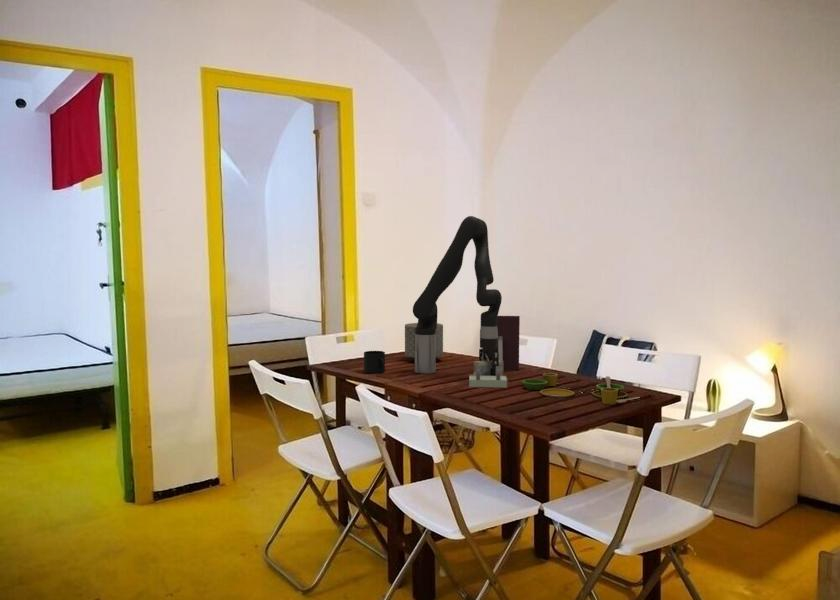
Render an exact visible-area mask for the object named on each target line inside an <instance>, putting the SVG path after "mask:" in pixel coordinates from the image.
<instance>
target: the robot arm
mask: <svg viewBox="0 0 840 600" xmlns="http://www.w3.org/2000/svg"><path fill="white" fill-rule="evenodd" d="M488 233H489V231H488V225H487V223H486V222H485V221H484V220H483V219H482V218H479V217H476V216H473V215H468V216H467V217H465V218H464V219H463V220H462V222H461V223H460V225H459V227H458V229H457V231H456V234H455V236H454V237H453V240H452V241H451V244H450V246H449V247H448V249H447V250H446V252H445V254H444V256H443V257H442V259H441V260H440V262H439V264H438V265H437V266H436V269H435V270H434V273H433V274H432V276H431V278H430V280H429V282H428V283H427V285H426V287H425V288H424V290H423V291H422V293H421V294H420V295H419V296H418V298H417V299H416V301H415V302H414V303H413V306H412V313H413V316H414V317H415V319H417V323H418V324H417V326H416V328H415V361H414V373H416V374H417V373H418V374H432V373H433V374H435V373H436V370H437V369H436V366H437V365H436V360H437V359H436V328H437V323H438V306H437V301H438V300H439V298H440V296H441V295H442V294H443V293H444V292H445V291H446V290H447V289H448V288H449V287H450V285H451V284H452V283H453V282H454V281H455V279H456V278H457V276H458V274H459V272H460V271H461V268H462V266H463V262H464V261H463V260H464V254H465V251H466V248H467V247H468V245H469V243H470V242H471V240H472V242H473V244H474V248H475V258H474V265H473V266H474V271H475V278H476V294H475V295H476V296H475V297H476V303H477V304H478V305H479V306H481V307H488V310H485V311H483V312H482V313H481V314H480V329H479V348H478V361H488V363H489V364H490V376H496V366H499V353H495V348H497V347H498V329H497V316H499V312H500V308H501V305H502V298H503V296H502V293H501V292H500V290H498V289H496V288H495V289H491V288H490V289H488V288H487V287H488V286H490V285H491V284H493V282H494V274H493V270H492V265H491V259H490V251H489V234H488ZM496 362H497V364H496Z"/></svg>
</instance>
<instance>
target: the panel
mask: <svg viewBox="0 0 840 600" xmlns="http://www.w3.org/2000/svg"><path fill="white" fill-rule="evenodd" d="M496 364H497V362H496ZM476 366H480V376H490V364H489V363H488V361H479V360H478V361H477V360H476V361H473V376H476ZM499 367H500V376H504V371H505V370H504V361H501V360H499Z"/></svg>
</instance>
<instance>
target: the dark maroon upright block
mask: <svg viewBox="0 0 840 600" xmlns="http://www.w3.org/2000/svg"><path fill="white" fill-rule="evenodd" d="M520 317H521V316H520V315H498V316H497V329H498V347H497V348H495V353H499V360H501V361H504V370H503V371H514V370H513V369H519V370H520V327H521V326H520V322H521V321H520Z"/></svg>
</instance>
